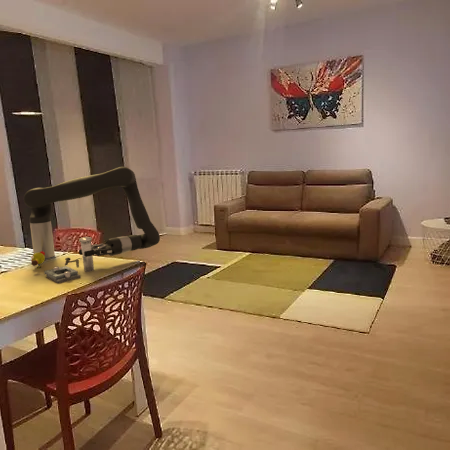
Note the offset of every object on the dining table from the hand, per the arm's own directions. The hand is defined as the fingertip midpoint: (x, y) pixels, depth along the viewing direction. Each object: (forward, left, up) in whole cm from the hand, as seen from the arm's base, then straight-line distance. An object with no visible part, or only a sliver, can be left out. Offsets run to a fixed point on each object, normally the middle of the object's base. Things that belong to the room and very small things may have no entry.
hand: (82, 253), depth 169 cm
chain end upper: (0, -9, -8) cm, 12 cm away
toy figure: (-22, -10, -8) cm, 26 cm away
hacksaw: (-13, +3, -9) cm, 16 cm away
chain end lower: (0, -9, -8) cm, 12 cm away
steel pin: (0, +2, -8) cm, 8 cm away
